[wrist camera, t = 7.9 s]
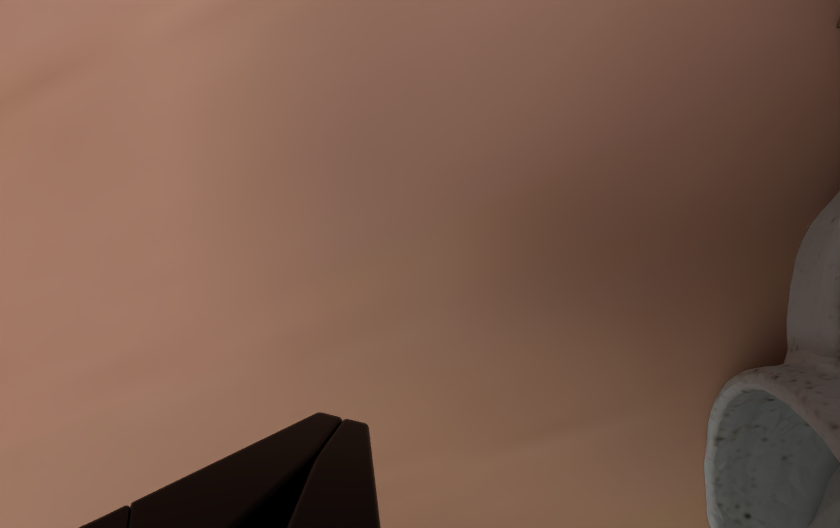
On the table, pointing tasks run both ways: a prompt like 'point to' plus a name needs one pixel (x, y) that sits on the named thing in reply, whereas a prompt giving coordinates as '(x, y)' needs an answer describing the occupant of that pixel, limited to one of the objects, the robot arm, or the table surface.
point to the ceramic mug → (786, 409)
